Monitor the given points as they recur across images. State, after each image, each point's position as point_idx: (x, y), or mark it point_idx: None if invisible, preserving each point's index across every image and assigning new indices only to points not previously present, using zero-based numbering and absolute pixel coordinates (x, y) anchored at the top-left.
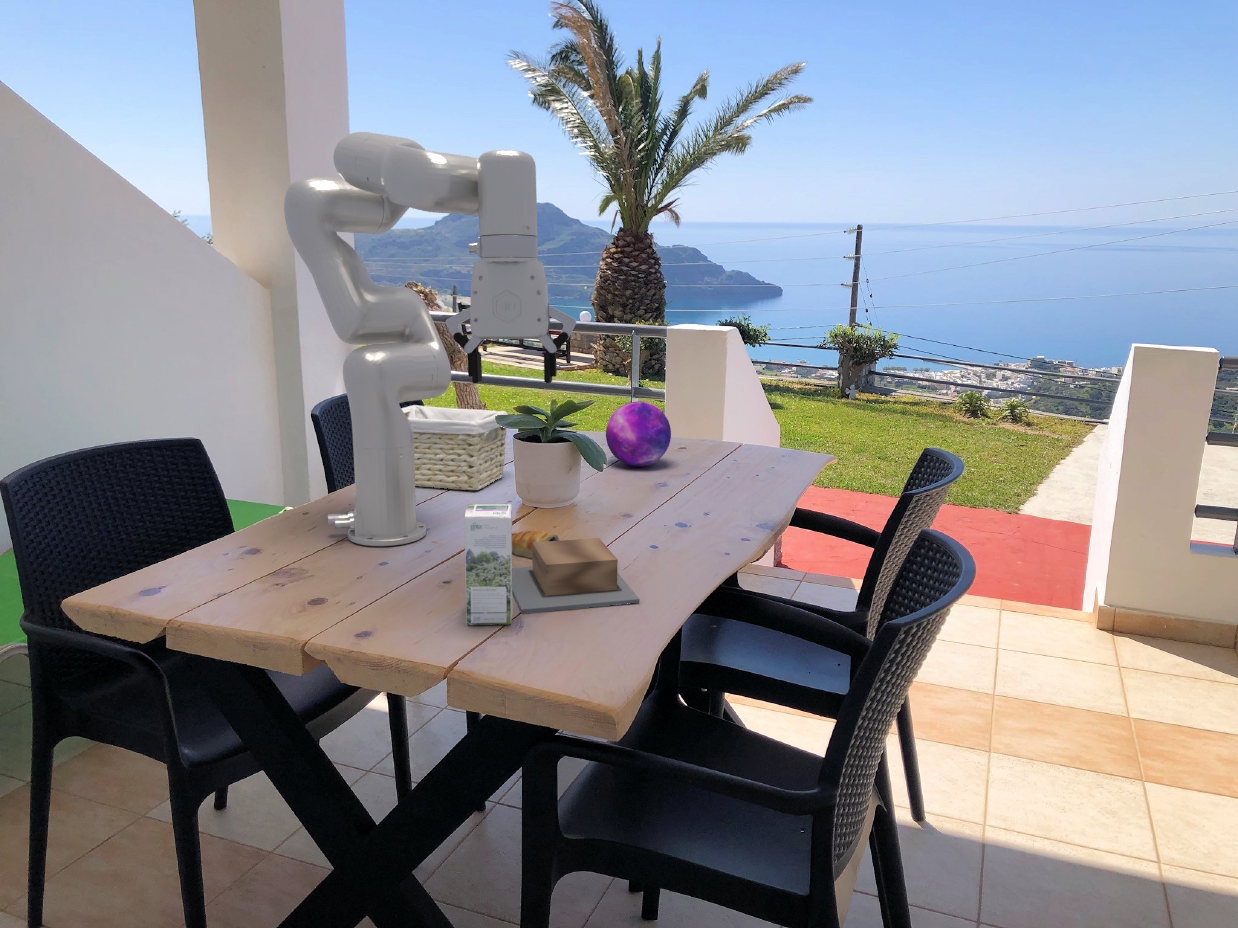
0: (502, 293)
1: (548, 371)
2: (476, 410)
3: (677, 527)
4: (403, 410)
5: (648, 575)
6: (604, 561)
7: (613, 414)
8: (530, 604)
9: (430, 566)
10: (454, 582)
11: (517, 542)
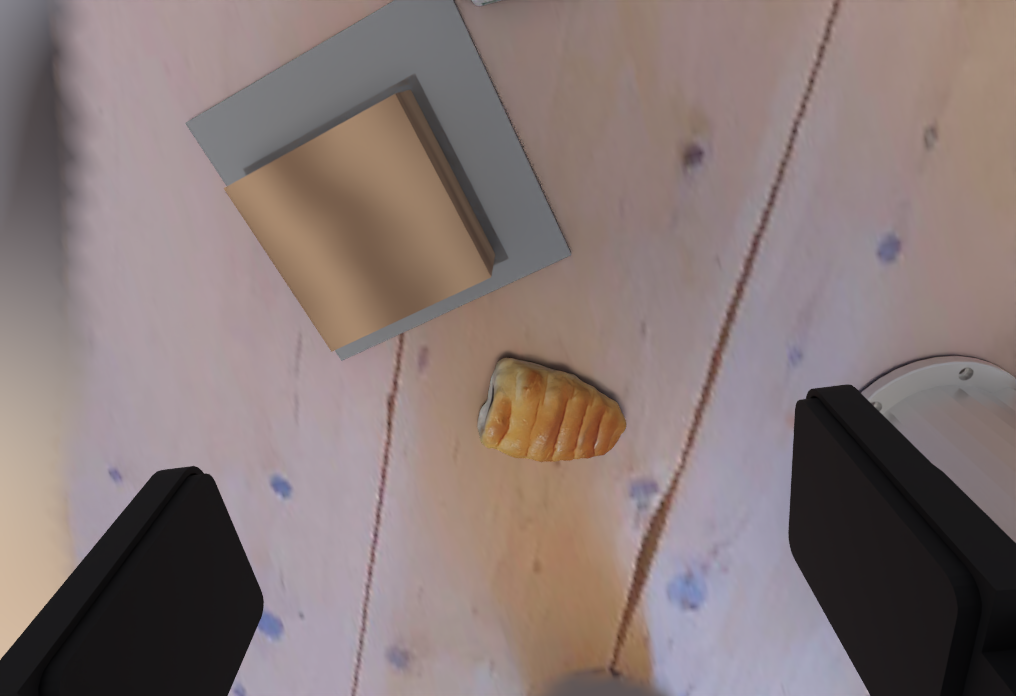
0: None
1: (115, 530)
2: None
3: (271, 608)
4: None
5: (233, 309)
6: (255, 171)
7: None
8: (429, 17)
9: (763, 255)
10: (672, 158)
11: (571, 389)
